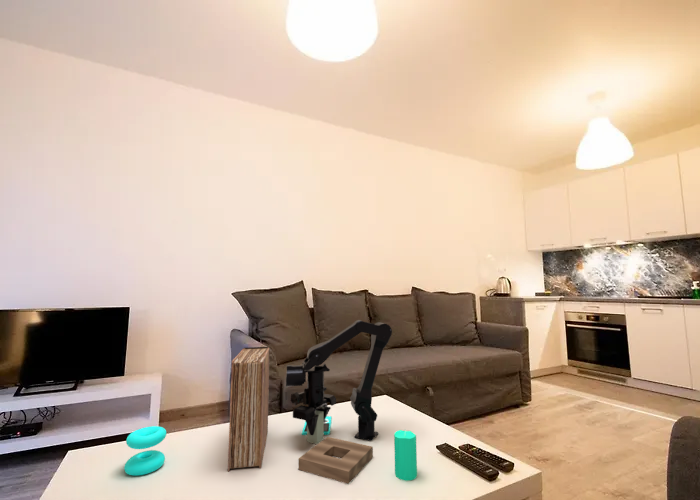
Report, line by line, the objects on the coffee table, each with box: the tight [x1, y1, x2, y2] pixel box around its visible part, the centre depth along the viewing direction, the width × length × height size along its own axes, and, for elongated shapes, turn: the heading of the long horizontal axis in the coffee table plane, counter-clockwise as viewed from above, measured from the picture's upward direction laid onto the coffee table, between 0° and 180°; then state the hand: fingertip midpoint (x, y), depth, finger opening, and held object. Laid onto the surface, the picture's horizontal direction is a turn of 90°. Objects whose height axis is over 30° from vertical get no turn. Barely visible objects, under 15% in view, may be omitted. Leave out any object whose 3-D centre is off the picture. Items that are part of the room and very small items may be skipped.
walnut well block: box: [298, 436, 374, 485], centre depth 99 cm, size 16×16×3 cm
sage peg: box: [306, 410, 325, 445], centre depth 115 cm, size 4×4×9 cm
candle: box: [393, 429, 418, 482], centre depth 93 cm, size 6×6×12 cm
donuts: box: [123, 425, 167, 476], centre depth 97 cm, size 10×10×10 cm
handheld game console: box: [301, 415, 332, 436], centre depth 126 cm, size 10×16×1 cm, turn 1°
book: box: [227, 346, 270, 472], centre depth 109 cm, size 25×9×30 cm, turn 9°
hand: (315, 432), depth 114 cm, fingers closed on sage peg, 4 cm apart
